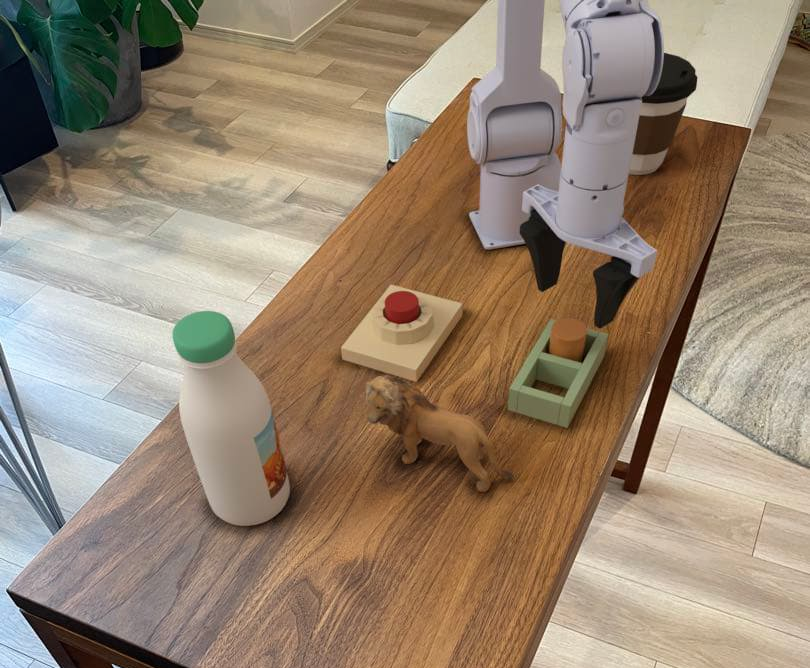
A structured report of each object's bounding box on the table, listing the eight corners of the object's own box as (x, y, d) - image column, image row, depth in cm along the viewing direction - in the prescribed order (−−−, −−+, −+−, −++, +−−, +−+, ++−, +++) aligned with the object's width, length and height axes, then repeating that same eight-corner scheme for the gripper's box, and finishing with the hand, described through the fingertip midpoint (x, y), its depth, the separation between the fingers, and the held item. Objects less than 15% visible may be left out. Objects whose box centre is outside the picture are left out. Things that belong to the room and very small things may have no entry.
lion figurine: (360, 463, 81) (352, 395, 74) (380, 426, 84) (374, 357, 77) (505, 500, 77) (511, 432, 70) (521, 460, 80) (528, 391, 73)
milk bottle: (257, 541, 76) (207, 374, 60) (193, 508, 78) (128, 340, 63) (307, 485, 80) (272, 314, 64) (244, 456, 82) (195, 285, 66)
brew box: (391, 296, 97) (389, 270, 94) (462, 315, 94) (462, 289, 91) (342, 359, 90) (338, 334, 88) (416, 382, 88) (415, 356, 85)
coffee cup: (687, 151, 113) (709, 57, 104) (666, 191, 107) (687, 96, 98) (609, 136, 116) (623, 44, 107) (584, 175, 111) (597, 81, 101)
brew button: (394, 300, 91) (394, 287, 90) (424, 309, 90) (424, 295, 89) (379, 320, 89) (378, 306, 88) (410, 328, 88) (409, 315, 87)
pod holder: (604, 356, 89) (608, 333, 87) (567, 428, 83) (570, 406, 80) (547, 340, 91) (550, 318, 88) (507, 410, 85) (509, 388, 82)
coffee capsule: (544, 375, 88) (548, 337, 84) (549, 353, 90) (554, 315, 86) (578, 380, 87) (584, 342, 83) (583, 358, 89) (589, 320, 85)
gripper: (692, 188, 69) (659, 321, 80) (565, 126, 76) (550, 255, 87) (635, 221, 66) (609, 354, 77) (509, 153, 73) (501, 283, 84)
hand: (575, 304), depth 82 cm, fingers open, 7 cm apart
